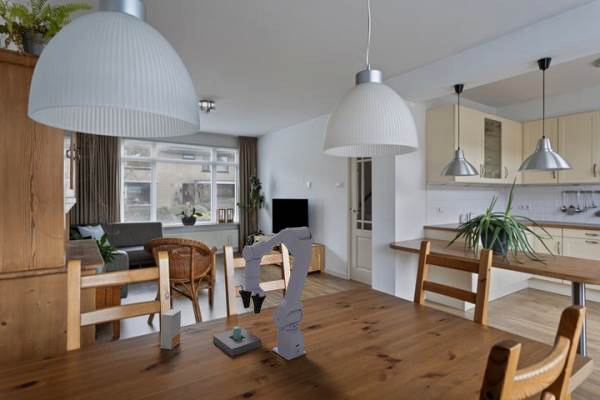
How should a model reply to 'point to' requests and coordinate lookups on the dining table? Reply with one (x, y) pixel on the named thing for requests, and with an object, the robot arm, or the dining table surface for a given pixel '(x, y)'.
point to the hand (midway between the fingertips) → (251, 310)
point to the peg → (236, 333)
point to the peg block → (236, 342)
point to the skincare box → (170, 328)
